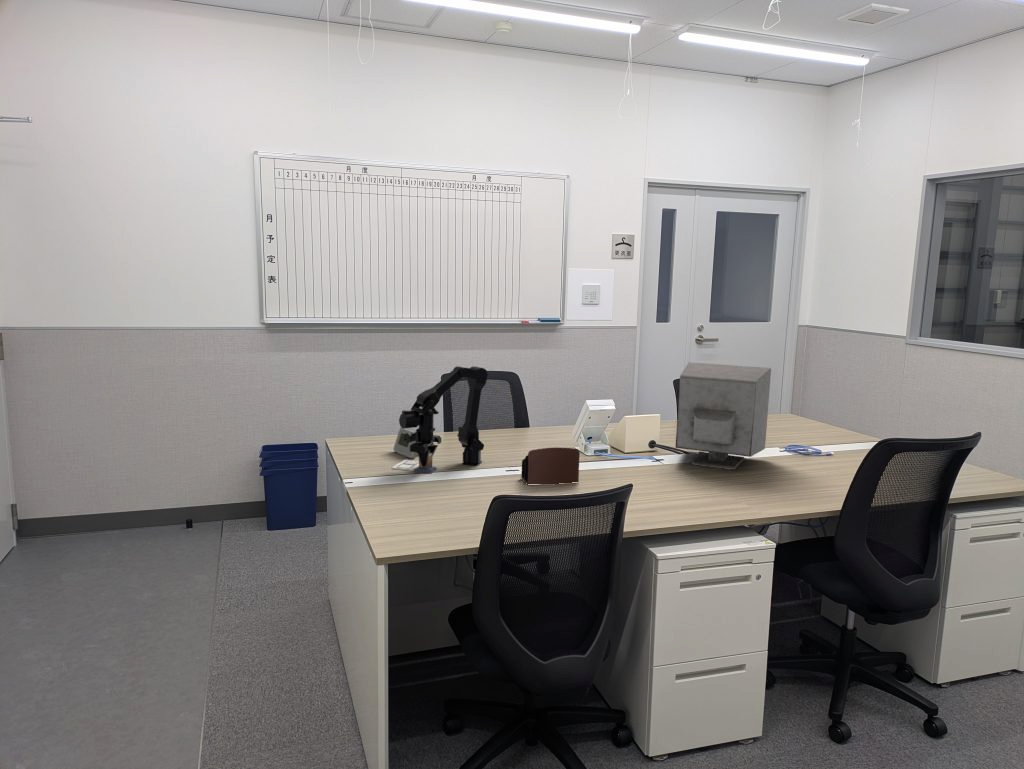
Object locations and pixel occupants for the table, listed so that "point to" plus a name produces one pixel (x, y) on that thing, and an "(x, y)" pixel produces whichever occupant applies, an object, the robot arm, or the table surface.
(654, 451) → the table surface
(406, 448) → the digital clock
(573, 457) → the letter holder
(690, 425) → the crt monitor
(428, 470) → the ink pad
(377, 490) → the table surface
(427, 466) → the beige block
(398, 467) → the sheet
